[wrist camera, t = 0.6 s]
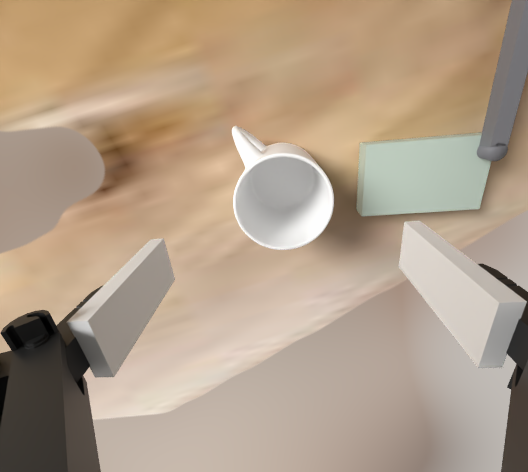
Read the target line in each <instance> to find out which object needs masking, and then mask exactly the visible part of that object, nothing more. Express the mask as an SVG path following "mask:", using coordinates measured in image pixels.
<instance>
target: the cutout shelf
mask: <svg viewBox="0 0 528 472" xmlns="http://www.w3.org/2000/svg"><path fill="white" fill-rule="evenodd" d="M527 72H528V0H512V3H511V7H510V12H509V16H508V20H507V25H506V29H505V34H504V38H503V42H502V47H501V51H500V56H499V60H498V64H497V69H496V73H495V78H494V82H493V86H492V91H491V95H490V100H489V104H488V109H487V113H486V117H485V122H484V126H483V131H482V132H481V133H469V134H457V135H445V136H433V137H422V138H410V139H398V140H386V141H374V142H362V143H360V151H359V169H358V187H357V205H356V210H357V211H358V212H359V214H360V215H361V216H376V215H392V214H408V213H424V212H440V211H455V210H471V209H480V205H481V201H482V197H483V193H484V189H485V185H486V181H487V177H488V173H489V169H490V165H491V161H498V160H500V159H502V158H503V157H504V156H505V155H506V153H507V151H508V147H507V146H508V143H509V139H510V136H511V132H512V128H513V124H514V121H515V117H516V113H517V109H518V106H519V102H520V98H521V95H522V91H523V87H524V83H525V80H526V76H527Z"/></svg>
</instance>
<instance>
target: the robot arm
mask: <svg viewBox="0 0 528 472" xmlns="http://www.w3.org/2000/svg"><path fill="white" fill-rule="evenodd" d="M399 268H400V269H401V270H402V272H403V273H404V274H405V275H406V277H407V278H408V279H409V281H410V282H411V283H412V284H413V286H414V287H415V288H416V289H417V291H418V292H419V293H420V295H421V296H422V297H423V298H424V300H425V301H426V302H427V303H428V305H429V306H430V307H431V309H432V310H433V311H434V312H435V314H436V315H437V316H438V317H439V319H440V320H441V321H442V323H443V324H444V325H445V326H446V328H447V329H448V330H449V331H450V333H451V334H452V335H453V337H454V338H455V339H456V340H457V342H458V343H459V344H460V345H461V347H462V348H463V349H464V350H465V352H466V353H467V354H468V356H469V357H470V358H471V360H472V361H473V362H474V363H475V365H476V366H477V367H478V368H496V367H502V366H503V364H504V361H505V359H506V355H507V354H508V355H509V356H510V357H511V358H512V359H513V360H514V361H515V362H516V363H517V364H516V367H515V369H514V372H513V375H512V377H511V379H510V382H509V384H508V388H509V389H511V397H510V405H509V413H508V421H507V429H506V438H505V445H504V453H503V461H502V469H501V472H528V292H527V291H525V290H524V289H523V288H521V287H520V286H517V285H516V283H514V282H513V281H512V280H510V279H508V278H507V277H506V276H505V275H503V274H502V273H500V272H499V271H498V270H496V269H493V268H491V267H489V266H487V265H484V264H476V263H475V262H474V261H472V260H471V259H470V258H468V257H467V256H466V255H465V254H463V253H462V252H461V251H459V250H458V249H457V248H455V247H454V246H453V245H451V244H450V243H449V242H447V241H446V240H445V239H443V238H442V237H441V236H439V235H438V234H437V233H435V232H434V231H433V230H432V229H430V228H429V227H428V226H426V225H425V224H424V223H422V222H421V221H406V222H404V229H403V237H402V245H401V253H400V260H399ZM174 280H175V278H174V274H173V270H172V267H171V263H170V260H169V256H168V252H167V249H166V245H165V242H164V238H163V239H151V240H150V241H149V242H148V243H147V244H145V245H144V246H143V247H142V248H141V249H140V250H139V251H138V252H137V253H136V254H135V255H134V256H133V257H132V258H131V259H130V260H129V261H128V262H127V263H126V264H125V265H124V266H123V267H122V268H121V269H120V270H119V271H118V272H117V273H116V274H115V275H114V276H113V277H112V278H111V279H110V280H109V281H108V282H107V283H106V284H105V285H104V286H101V287H99V288H98V289H96V290H95V291H93V292H91V293H90V294H89V295H88V296H87V297H86V298H85V299H84V300H83V302H81V303H80V304H79V305H78V306H77V308H75V309H74V310H72V311H71V312H70V313H69V314H68V315H67V316H66V317H65V318H64V319H63V320H62V321H61V322H60V323H59V324H58V325H57V326H56V324H55V323H54V321H53V319H52V317H51V315H50V313H49V312H48V311H45V310H39V311H34V312H31V313H27V314H25V315H23V316H21V317H18V318H17V319H15V320H13V321H12V322H10V323H9V324H8V325H7V326H5V327H4V328H3V330H2V331H1V335H2V336H3V338H4V339H5V341H6V342H7V344H8V345H9V347H10V348H11V350H12V351H8V352H4V353H0V472H101V471H100V464H99V459H98V453H97V446H96V439H95V433H94V426H93V420H92V414H91V408H90V401H89V395H88V389H87V382H86V380H85V378H84V376H83V375H84V373H85V372H86V371H87V369H88V368H89V367H90V368H91V370H92V372H93V374H94V376H95V377H114V376H115V375H116V373H117V371H118V370H119V368H120V367H121V365H122V363H123V362H124V360H125V359H126V357H127V355H128V354H129V352H130V351H131V349H132V347H133V346H134V344H135V343H136V341H137V339H138V338H139V336H140V335H141V333H142V331H143V330H144V328H145V327H146V325H147V323H148V322H149V320H150V319H151V317H152V315H153V314H154V312H155V311H156V309H157V307H158V306H159V304H160V303H161V301H162V299H163V298H164V296H165V295H166V293H167V291H168V290H169V288H170V287H171V285H172V283H173V282H174Z"/></svg>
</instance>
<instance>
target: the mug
mask: <svg viewBox="0 0 528 472" xmlns="http://www.w3.org/2000/svg"><path fill="white" fill-rule="evenodd" d="M232 135H233V139H234V142H235V145H236V147H237V149H238V152H239V154H240V156H241V158H242V160H243V163H244V165H245V171H244V172H243V174H242V176H241V177H240V179H239V181H238V183H237V185H236V188H235V191H234V197H233V207H234V213H235V217H236V219H237V222H238V224H239V225H240V227H241V229H242V230H243V231H244V233H245V234H246V235H247V236H248V237H250V238H251V239H252V240H253V241H255V242H256V243H258V244H260V245H262V246H264V247H267V248H271V249H276V250H289V249H295V248H299V247H301V246H304V245H306V244H308V243H310V242H311V241H313V240H314V239H316V238H317V237H318V236H319V235H320V234H321V233H322V232H323V231H324V229H325V228H326V226H327V225H328V223H329V221H330V219H331V216H332V213H333V208H334V193H333V189H332V186H331V183H330V181H329V179H328V177H327V175H326V174H325V173H324V171H323V170H322V169H321V168H320V166H319V165H318V164H317V163H316V161H315V160H314V159H313V158H312V157H311V155H310V154H309V153H308V152H307V151H305V150H304V149H303V148H301V147H299V146H297V145H294V144H291V143H275V144H272V145H269V146H266V145H264V144H263V143H262V142H261V141H259V140H258V139H257V138H256V137H254V136H253V135H252V134H250V133H249V132H247V131H246V130H244V129H242V128H240V127H238V126H234V127H233V128H232Z"/></svg>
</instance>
